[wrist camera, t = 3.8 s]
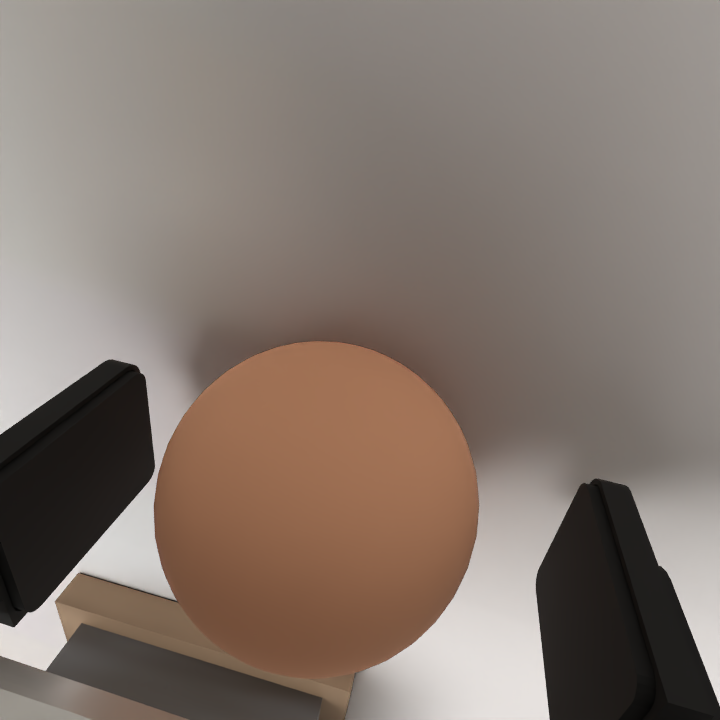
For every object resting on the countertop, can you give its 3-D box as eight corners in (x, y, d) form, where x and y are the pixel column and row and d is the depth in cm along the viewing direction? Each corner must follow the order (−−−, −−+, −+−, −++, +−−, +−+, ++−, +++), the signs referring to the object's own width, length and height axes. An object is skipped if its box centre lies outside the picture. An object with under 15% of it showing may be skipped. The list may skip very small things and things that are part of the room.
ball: (241, 270, 11) (28, 432, 6) (510, 326, 10) (543, 566, 5) (239, 468, 14) (100, 689, 9) (447, 521, 13) (427, 796, 8)
